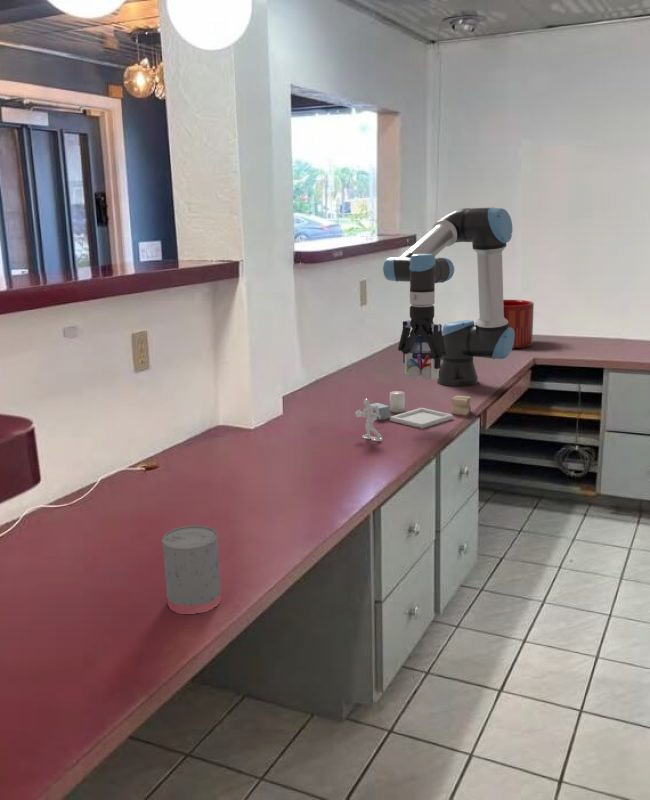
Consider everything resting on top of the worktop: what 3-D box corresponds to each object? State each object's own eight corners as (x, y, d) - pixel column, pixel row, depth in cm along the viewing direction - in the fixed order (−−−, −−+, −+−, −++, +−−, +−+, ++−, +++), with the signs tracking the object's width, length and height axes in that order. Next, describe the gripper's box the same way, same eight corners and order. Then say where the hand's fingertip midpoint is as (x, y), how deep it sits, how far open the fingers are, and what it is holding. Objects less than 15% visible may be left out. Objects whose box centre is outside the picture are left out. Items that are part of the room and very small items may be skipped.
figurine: (379, 442, 226) (378, 402, 223) (351, 438, 231) (350, 398, 228) (386, 438, 230) (386, 398, 227) (359, 434, 235) (358, 395, 232)
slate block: (378, 414, 256) (377, 402, 256) (389, 418, 252) (389, 406, 251) (368, 416, 254) (368, 404, 253) (379, 420, 250) (379, 408, 249)
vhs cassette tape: (409, 358, 346) (409, 335, 344) (409, 356, 349) (409, 334, 346) (451, 358, 344) (451, 335, 341) (451, 356, 347) (451, 334, 344)
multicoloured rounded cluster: (436, 380, 240) (436, 357, 238) (404, 379, 242) (404, 356, 240) (438, 374, 248) (438, 352, 246) (407, 374, 250) (407, 351, 248)
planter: (475, 342, 379) (476, 300, 374) (521, 340, 382) (523, 298, 377) (490, 350, 357) (492, 306, 352) (539, 348, 359) (541, 304, 354)
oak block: (455, 410, 259) (456, 395, 258) (470, 411, 257) (470, 396, 256) (451, 413, 255) (451, 398, 254) (465, 415, 253) (466, 400, 251)
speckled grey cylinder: (193, 583, 145) (189, 521, 142) (233, 597, 140) (229, 533, 137) (155, 605, 137) (150, 540, 134) (195, 620, 132) (190, 553, 129)
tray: (421, 411, 258) (421, 407, 257) (452, 418, 249) (452, 414, 248) (390, 420, 248) (390, 416, 248) (421, 428, 239) (422, 424, 238)
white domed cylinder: (396, 407, 264) (396, 390, 262) (408, 410, 260) (408, 392, 259) (386, 410, 260) (386, 393, 259) (397, 413, 257) (397, 395, 255)
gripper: (386, 303, 245) (386, 373, 251) (443, 309, 229) (442, 383, 234) (402, 301, 250) (402, 369, 256) (459, 306, 234) (457, 379, 239)
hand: (421, 376), depth 245 cm, fingers closed on multicoloured rounded cluster, 10 cm apart
